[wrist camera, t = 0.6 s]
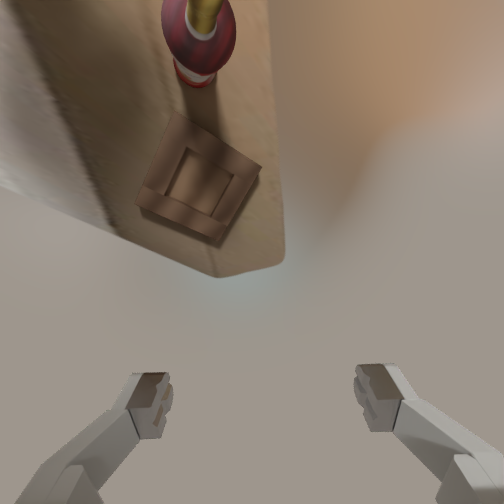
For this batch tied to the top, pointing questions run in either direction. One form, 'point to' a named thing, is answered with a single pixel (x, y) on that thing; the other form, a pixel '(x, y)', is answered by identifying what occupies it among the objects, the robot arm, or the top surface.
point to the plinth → (196, 179)
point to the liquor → (198, 37)
